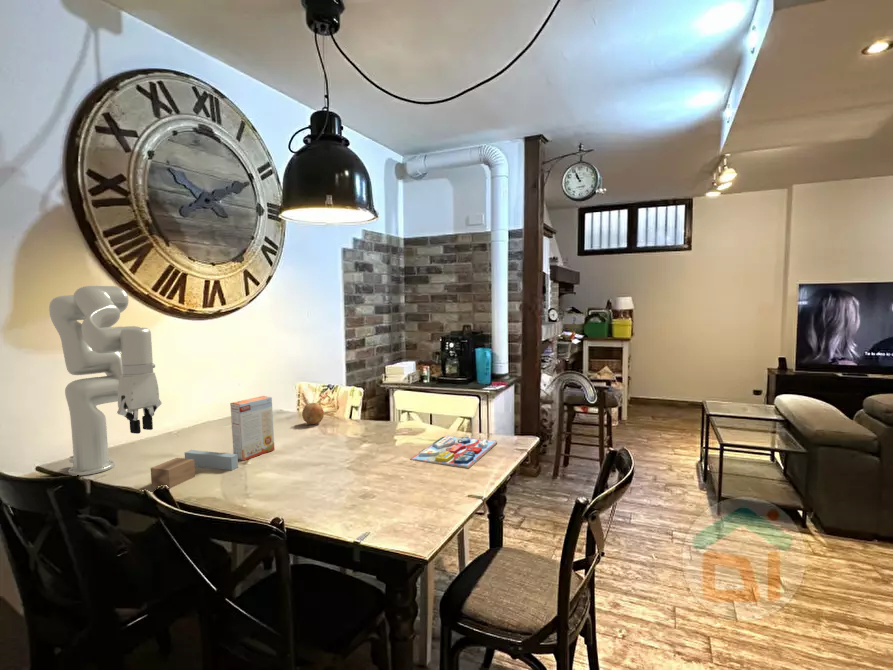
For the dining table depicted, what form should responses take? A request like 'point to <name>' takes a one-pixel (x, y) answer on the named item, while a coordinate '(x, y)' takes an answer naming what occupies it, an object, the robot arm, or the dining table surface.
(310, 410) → the onion
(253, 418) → the cracker box
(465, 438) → the puzzle board
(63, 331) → the robot arm
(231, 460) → the batten
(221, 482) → the dining table surface
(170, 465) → the walnut block
